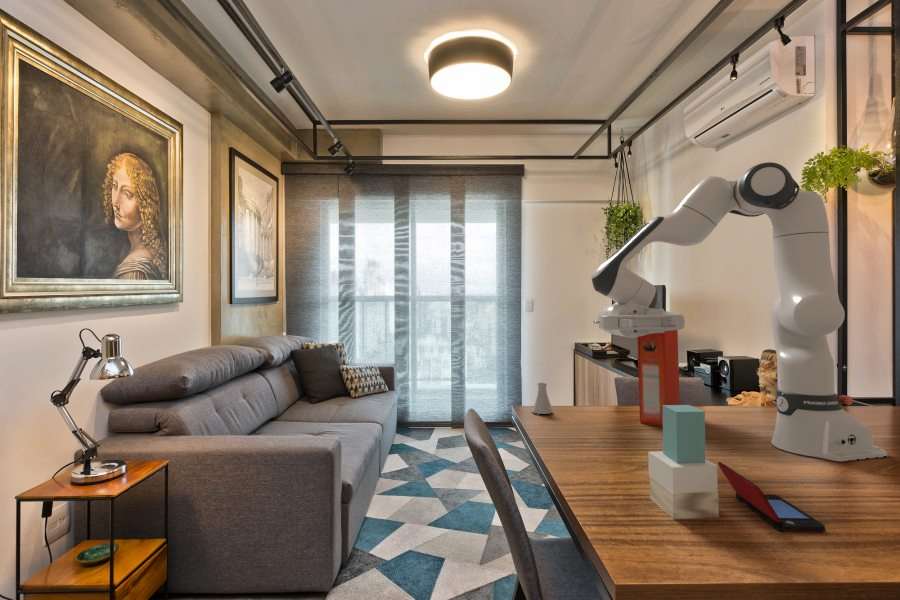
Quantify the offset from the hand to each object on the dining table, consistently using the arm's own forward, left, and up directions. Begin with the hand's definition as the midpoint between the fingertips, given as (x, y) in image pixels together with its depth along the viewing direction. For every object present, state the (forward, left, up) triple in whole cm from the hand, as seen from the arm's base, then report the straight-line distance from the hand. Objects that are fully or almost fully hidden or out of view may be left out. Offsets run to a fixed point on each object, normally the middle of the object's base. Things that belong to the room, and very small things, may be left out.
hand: (654, 323), depth 104 cm
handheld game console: (-7, +27, -32) cm, 43 cm away
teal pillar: (+6, +24, -23) cm, 34 cm away
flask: (+17, -46, -32) cm, 59 cm away
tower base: (+7, +24, -32) cm, 41 cm away
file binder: (-18, -36, -32) cm, 51 cm away
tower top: (+7, +24, -28) cm, 37 cm away
